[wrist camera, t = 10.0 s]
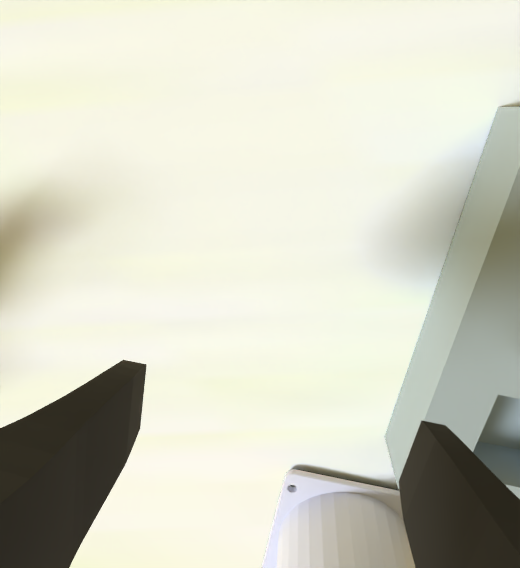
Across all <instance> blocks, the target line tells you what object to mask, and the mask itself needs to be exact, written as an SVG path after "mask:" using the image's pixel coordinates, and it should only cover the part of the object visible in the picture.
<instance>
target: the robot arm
mask: <svg viewBox="0 0 520 568" xmlns="http://www.w3.org/2000/svg"><path fill="white" fill-rule="evenodd" d="M145 374H146V364H141V363H136V362H131V361H126V360H123V361H121V362H119V363H118V364H116V365H114V366H113V367H111V368H110V369H108V370H106V371H105V372H103V373H102V374H100V375H98V376H97V377H95V378H94V379H92V380H90V381H89V382H87V383H86V384H84V385H82V386H81V387H79V388H77V389H76V390H74V391H72V392H71V393H69V394H67V395H66V396H64V397H62V398H60V399H58V400H56V401H55V402H53V403H51V404H49V405H47V406H45V407H43V408H42V409H40V410H38V411H36V412H34V413H32V414H30V415H28V416H26V417H24V418H22V419H20V420H18V421H16V422H14V423H11V424H9V425H7V426H5V427H2V428H0V568H69V567H70V565H71V562H72V560H73V558H74V556H75V554H76V552H77V550H78V549H79V547H80V545H81V543H82V541H83V539H84V537H85V536H86V534H87V532H88V530H89V528H90V527H91V525H92V523H93V521H94V519H95V518H96V516H97V514H98V512H99V511H100V509H101V507H102V505H103V503H104V502H105V500H106V498H107V496H108V495H109V493H110V491H111V489H112V487H113V486H114V484H115V482H116V480H117V478H118V477H119V475H120V473H121V471H122V469H123V467H124V466H125V464H126V462H127V459H128V457H129V454H130V452H131V450H132V447H133V445H134V442H135V440H136V437H137V435H138V432H139V430H140V423H141V413H142V403H143V393H144V384H145ZM289 485H294V486H295V487H290V486H289ZM399 490H400V491H398V490H393V489H388V488H384V487H379V486H374V485H369V484H364V483H359V482H354V481H349V480H345V479H340V478H335V477H330V476H325V475H320V474H315V473H310V472H306V471H301V470H295V469H292V470H289V471H287V472H286V474H285V477H284V481H283V484H282V488H281V492H280V496H279V500H278V504H277V508H276V512H275V516H274V520H273V524H272V528H271V531H270V535H269V539H268V543H267V547H266V551H265V555H264V559H263V563H262V567H261V568H520V499H519V498H518V497H517V496H516V495H515V494H514V493H513V492H512V491H511V490H510V489H509V488H508V487H507V486H506V485H504V484H503V483H502V482H501V481H500V480H499V478H498V477H497V476H496V475H495V474H494V473H493V472H492V471H491V470H490V469H489V468H488V467H487V466H486V465H485V464H484V463H483V462H482V461H481V460H480V459H479V458H478V457H477V456H476V455H475V454H474V453H473V452H472V451H471V450H470V449H469V448H468V447H467V446H466V445H465V444H464V443H463V442H462V441H461V440H460V439H459V438H458V437H457V436H456V435H455V434H454V433H453V432H452V431H451V430H450V429H449V428H448V427H447V426H446V425H442V424H437V423H432V422H427V421H423V420H421V423H420V426H419V428H418V431H417V434H416V436H415V439H414V442H413V444H412V447H411V450H410V452H409V455H408V458H407V460H406V463H405V466H404V468H403V471H402V474H401V476H400V479H399Z"/></svg>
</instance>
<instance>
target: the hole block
mask: <svg viewBox="0 0 520 568" xmlns="http://www.w3.org/2000/svg"><path fill="white" fill-rule="evenodd" d="M421 420H423V421H427V422H432V423H437V424H442V425H446V426H447V427H448V428H449V429H450V430H451V431H452V432H453V433H454V434H455V435H456V436H457V437H458V438H459V439H460V440H461V441H462V442H463V443H464V444H465V445H466V446H467V447H468V448H469V449H470V450H471V451H472V452H473V453H474V454H475V455H476V456H477V457H478V458H479V459H480V460H481V461H482V462H483V463H484V464H485V465H486V466H487V467H488V468H489V469H490V470H491V471H492V472H493V473H494V474H495V475H496V476H497V477H498V478H499V480H500V481H501V482H502V483H503V484H504V485H506V486H507V487H508V488H509V489H510V490H511V491H512V492H513V493H514V494H515V495H516V496H517V497H518V498H519V499H520V106H519V107H498V109H497V112H496V115H495V118H494V121H493V124H492V127H491V130H490V133H489V135H488V138H487V141H486V144H485V147H484V150H483V153H482V156H481V159H480V162H479V164H478V167H477V170H476V173H475V176H474V179H473V182H472V185H471V188H470V191H469V193H468V196H467V199H466V202H465V205H464V208H463V211H462V214H461V217H460V220H459V223H458V225H457V228H456V231H455V234H454V237H453V240H452V243H451V246H450V249H449V252H448V254H447V257H446V260H445V263H444V266H443V269H442V272H441V275H440V278H439V281H438V283H437V286H436V289H435V292H434V295H433V298H432V301H431V304H430V307H429V310H428V313H427V315H426V318H425V321H424V324H423V327H422V330H421V333H420V336H419V339H418V342H417V344H416V347H415V350H414V353H413V356H412V359H411V362H410V365H409V368H408V371H407V373H406V376H405V379H404V382H403V385H402V388H401V391H400V394H399V397H398V400H397V403H396V405H395V408H394V411H393V414H392V417H391V420H390V423H389V426H388V429H387V432H386V434H385V440H386V444H387V447H388V451H389V455H390V459H391V463H392V467H393V471H394V475H395V479H396V483H397V487H398V489H399V479H400V476H401V474H402V471H403V468H404V466H405V463H406V460H407V458H408V455H409V452H410V450H411V447H412V444H413V442H414V439H415V436H416V434H417V431H418V428H419V426H420V423H421Z"/></svg>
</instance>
